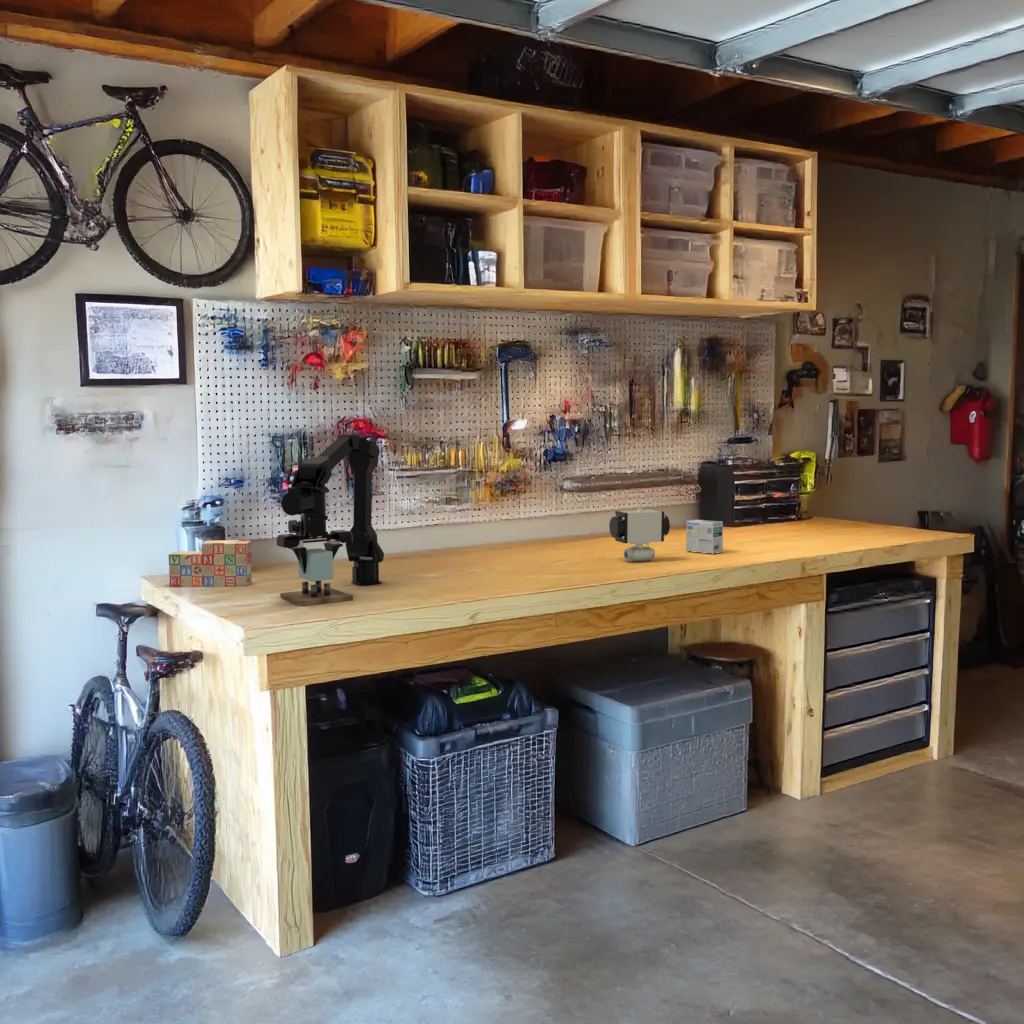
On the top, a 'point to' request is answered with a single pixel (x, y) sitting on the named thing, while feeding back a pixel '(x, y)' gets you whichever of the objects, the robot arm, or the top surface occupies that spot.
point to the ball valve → (639, 531)
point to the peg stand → (316, 595)
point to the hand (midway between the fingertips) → (315, 572)
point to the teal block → (317, 565)
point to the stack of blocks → (212, 565)
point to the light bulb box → (704, 536)
